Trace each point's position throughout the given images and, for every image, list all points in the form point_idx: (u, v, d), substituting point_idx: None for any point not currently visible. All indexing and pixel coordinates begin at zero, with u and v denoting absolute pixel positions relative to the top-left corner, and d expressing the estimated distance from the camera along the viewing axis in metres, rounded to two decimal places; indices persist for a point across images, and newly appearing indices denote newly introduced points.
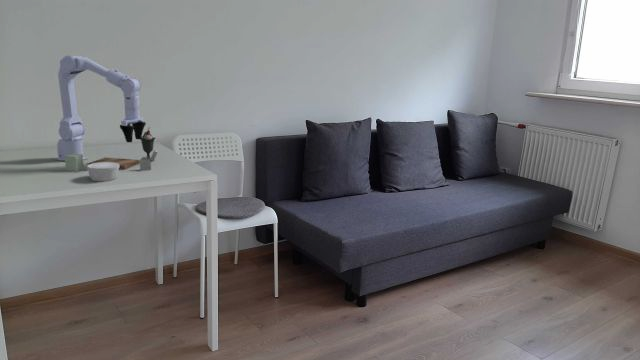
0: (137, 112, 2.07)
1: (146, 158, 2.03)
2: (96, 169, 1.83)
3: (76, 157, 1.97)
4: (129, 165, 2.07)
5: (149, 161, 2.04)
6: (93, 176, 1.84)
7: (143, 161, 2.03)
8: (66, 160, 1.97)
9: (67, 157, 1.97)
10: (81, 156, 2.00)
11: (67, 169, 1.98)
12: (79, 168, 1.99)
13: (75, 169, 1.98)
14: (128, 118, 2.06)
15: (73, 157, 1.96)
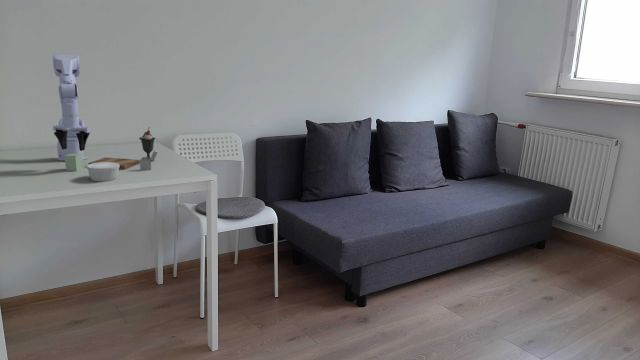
0: (64, 119, 1.93)
1: (146, 158, 2.03)
2: (96, 169, 1.83)
3: (76, 157, 1.97)
4: (129, 165, 2.07)
5: (149, 161, 2.04)
6: (93, 176, 1.84)
7: (143, 161, 2.03)
8: (66, 160, 1.97)
9: (67, 157, 1.97)
10: (81, 156, 2.00)
11: (67, 169, 1.98)
12: (79, 168, 1.99)
13: (75, 169, 1.98)
14: None
15: (73, 157, 1.96)
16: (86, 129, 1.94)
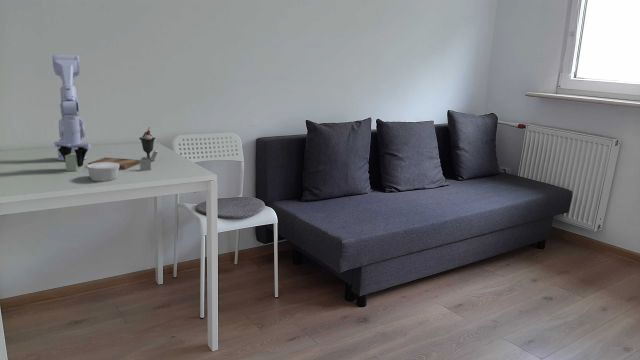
0: (65, 136, 1.94)
1: (146, 158, 2.03)
2: (96, 169, 1.83)
3: (76, 157, 1.97)
4: (129, 165, 2.07)
5: (149, 161, 2.04)
6: (93, 176, 1.84)
7: (143, 161, 2.03)
8: (66, 160, 1.97)
9: (67, 157, 1.97)
10: None
11: (67, 169, 1.98)
12: (79, 168, 1.99)
13: (75, 169, 1.98)
14: None
15: (73, 157, 1.96)
16: (87, 145, 1.96)
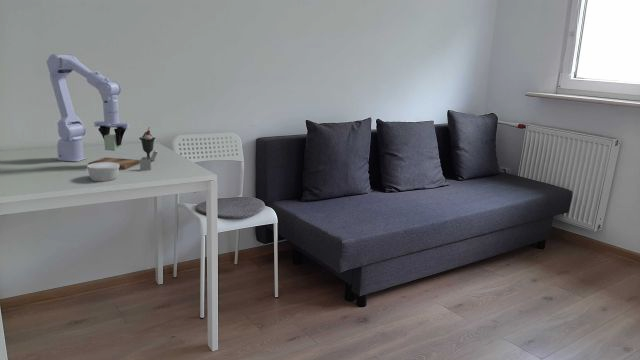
0: (105, 116, 2.03)
1: (146, 158, 2.03)
2: (96, 169, 1.83)
3: (114, 137, 2.05)
4: (129, 165, 2.07)
5: (149, 161, 2.04)
6: (93, 176, 1.84)
7: (143, 161, 2.03)
8: (105, 140, 2.05)
9: (106, 137, 2.05)
10: None
11: (106, 149, 2.06)
12: (117, 148, 2.07)
13: (113, 149, 2.06)
14: None
15: (112, 137, 2.04)
16: (126, 125, 2.04)
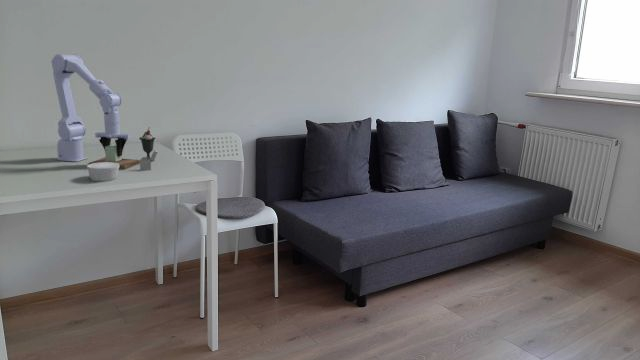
0: (106, 127, 2.04)
1: (146, 158, 2.03)
2: (96, 169, 1.83)
3: (115, 148, 2.06)
4: (129, 165, 2.07)
5: (149, 161, 2.04)
6: (93, 176, 1.84)
7: (143, 161, 2.03)
8: (106, 151, 2.07)
9: (107, 148, 2.06)
10: None
11: (107, 159, 2.07)
12: (118, 159, 2.09)
13: (114, 159, 2.07)
14: None
15: (112, 148, 2.06)
16: (127, 136, 2.05)
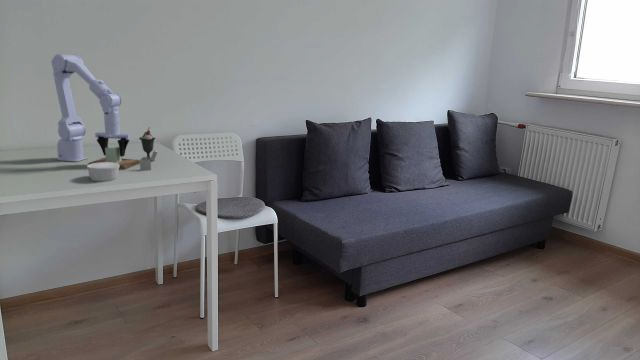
0: (106, 127, 2.04)
1: (146, 158, 2.03)
2: (96, 169, 1.83)
3: (116, 149, 2.06)
4: (129, 165, 2.07)
5: (149, 161, 2.04)
6: (93, 176, 1.84)
7: (143, 161, 2.03)
8: (106, 152, 2.07)
9: (107, 149, 2.06)
10: None
11: (107, 161, 2.08)
12: (118, 160, 2.09)
13: (115, 161, 2.07)
14: None
15: (113, 149, 2.06)
16: (127, 136, 2.05)
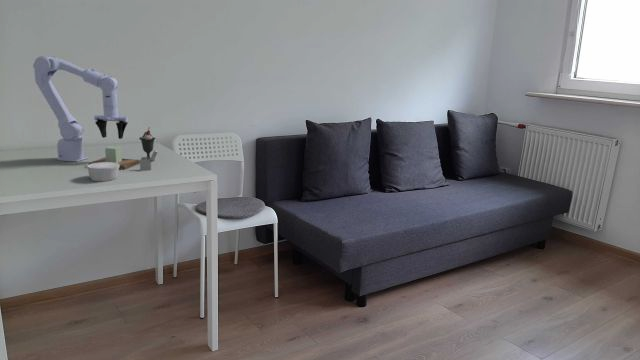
0: (105, 110, 2.11)
1: (146, 158, 2.03)
2: (96, 169, 1.83)
3: (116, 149, 2.06)
4: (129, 165, 2.07)
5: (149, 161, 2.03)
6: (93, 176, 1.84)
7: (143, 161, 2.03)
8: (106, 152, 2.07)
9: (107, 149, 2.06)
10: (120, 148, 2.09)
11: (107, 161, 2.08)
12: (118, 160, 2.09)
13: (115, 161, 2.07)
14: None
15: (113, 149, 2.06)
16: (125, 119, 2.12)
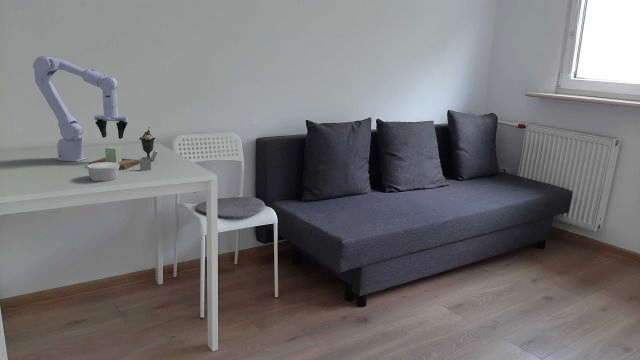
0: (105, 110, 2.11)
1: (146, 158, 2.03)
2: (96, 169, 1.83)
3: (116, 149, 2.06)
4: (129, 165, 2.07)
5: (149, 161, 2.04)
6: (93, 176, 1.84)
7: (143, 161, 2.03)
8: (106, 152, 2.07)
9: (107, 149, 2.06)
10: (120, 148, 2.09)
11: (107, 161, 2.08)
12: (118, 160, 2.09)
13: (115, 161, 2.07)
14: None
15: (113, 149, 2.06)
16: (125, 119, 2.12)
